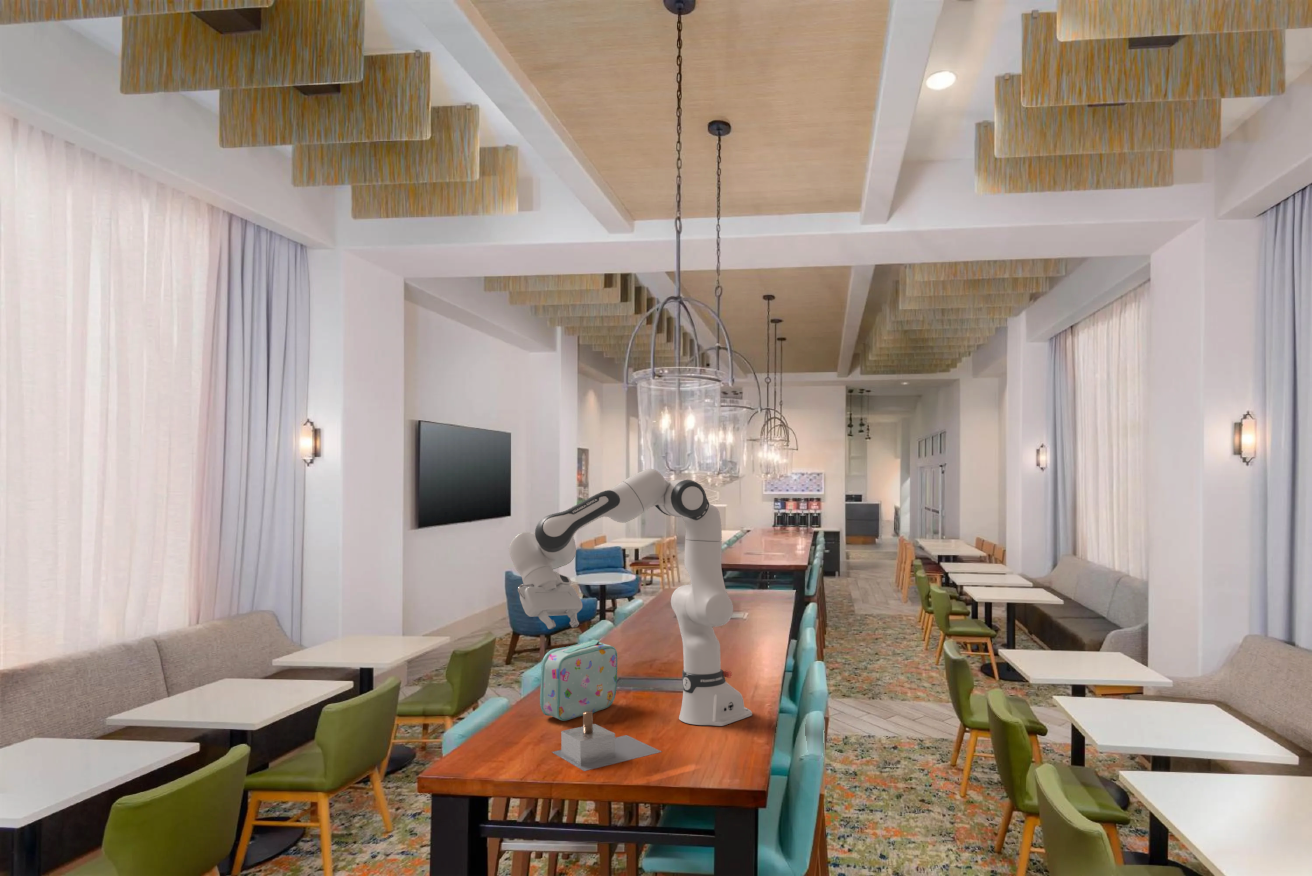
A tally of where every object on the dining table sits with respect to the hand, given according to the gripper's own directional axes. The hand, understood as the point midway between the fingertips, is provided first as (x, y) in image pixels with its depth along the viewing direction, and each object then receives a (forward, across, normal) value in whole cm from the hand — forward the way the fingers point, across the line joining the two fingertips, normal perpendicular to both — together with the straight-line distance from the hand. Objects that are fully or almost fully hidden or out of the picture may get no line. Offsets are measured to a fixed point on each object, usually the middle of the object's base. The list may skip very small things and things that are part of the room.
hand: (564, 626), depth 214 cm
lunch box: (+10, +32, +34) cm, 48 cm away
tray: (+32, +6, +11) cm, 35 cm away
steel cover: (+31, 0, +12) cm, 33 cm away
